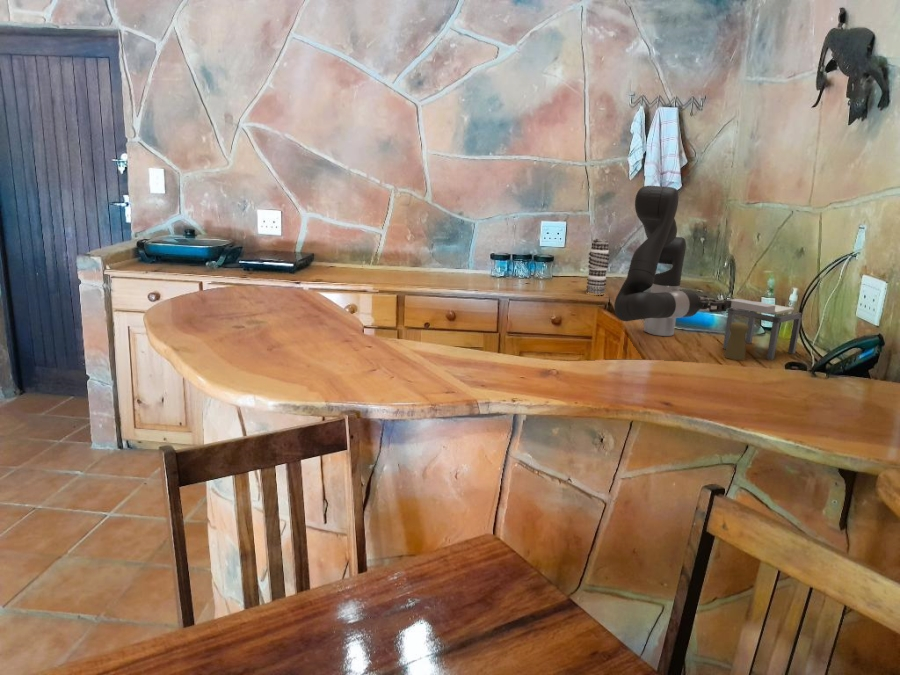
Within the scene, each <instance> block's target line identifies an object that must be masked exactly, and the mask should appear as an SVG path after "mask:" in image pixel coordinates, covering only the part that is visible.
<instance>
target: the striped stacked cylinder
mask: <svg viewBox="0 0 900 675" xmlns="http://www.w3.org/2000/svg"><path fill="white" fill-rule="evenodd" d="M590 242H591V246H590V251H589V253H588V259H589V260H588V275H587V282H586V284H587V285H586V286H585V287H586V289H585V291H586V293H587V292H589V293H594V294H601V293H604V294H605V293H606V289H607V288H606V285H607V283H606V282H607V271H608V267H609V266H608V265H609V262H608V261H610V258H609V257H610V254H609V251H610V250H609V247H610V246H609V245H610V242H609V241H608V239H605V238H595V239H593V240H592V241H590Z"/></svg>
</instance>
